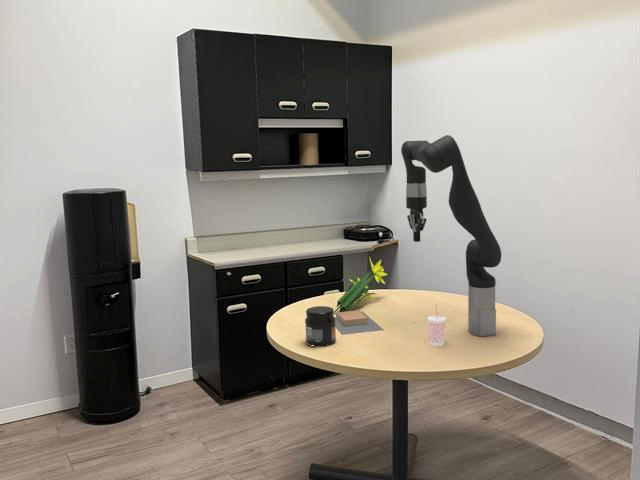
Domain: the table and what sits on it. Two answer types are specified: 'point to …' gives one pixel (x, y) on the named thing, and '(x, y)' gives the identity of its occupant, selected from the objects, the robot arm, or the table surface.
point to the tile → (352, 318)
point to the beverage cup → (436, 329)
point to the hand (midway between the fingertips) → (416, 241)
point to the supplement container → (320, 326)
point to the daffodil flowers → (360, 288)
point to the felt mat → (357, 327)
